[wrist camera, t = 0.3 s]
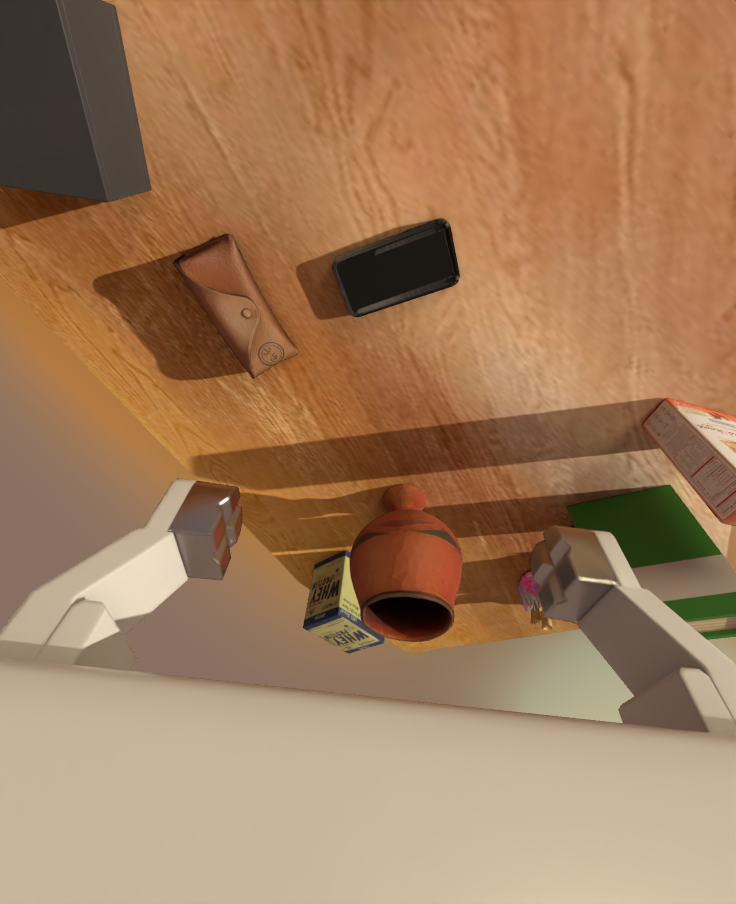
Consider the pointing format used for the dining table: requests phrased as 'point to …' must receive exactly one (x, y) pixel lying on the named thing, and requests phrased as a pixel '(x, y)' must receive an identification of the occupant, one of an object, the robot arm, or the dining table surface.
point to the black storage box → (67, 102)
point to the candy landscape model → (534, 601)
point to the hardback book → (668, 555)
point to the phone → (398, 268)
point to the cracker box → (700, 451)
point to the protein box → (337, 607)
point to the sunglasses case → (235, 304)
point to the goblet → (406, 570)
